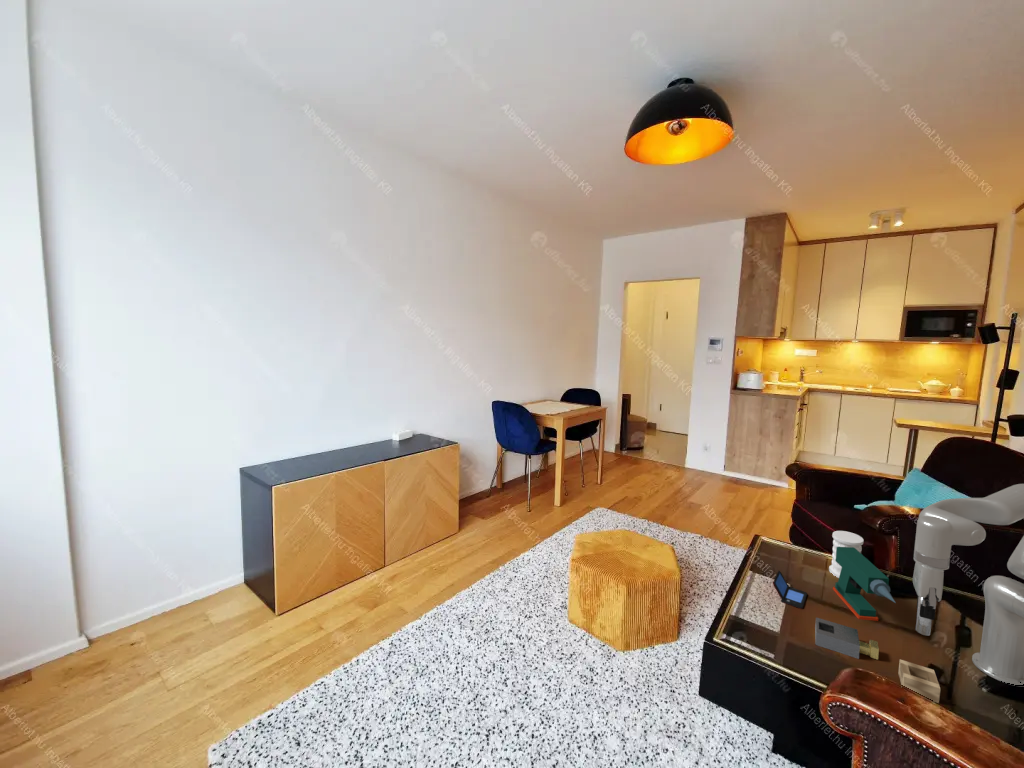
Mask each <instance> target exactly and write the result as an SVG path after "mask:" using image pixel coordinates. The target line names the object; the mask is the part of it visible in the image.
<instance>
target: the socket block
mask: <svg viewBox="0 0 1024 768" xmlns="http://www.w3.org/2000/svg"><path fill="white" fill-rule="evenodd" d="M814 626H815V627H814V629H815V631H814V632H815V633H814V634H815V635H814V636H815V639H814V640H815V642H814V643H815V646H818V647H821V648H824V649H827V650H831V651H833V652H836V653H839V654H843V655H845V656H849V657H852V658H855V659H857V660H859V659H860V652H859V650H860V644H859V641H860V639H859V631H858V629H857V628H854V627H849V626H847V625H845V624H840V623H838V622H837V623H836V622H832V621H830V620H827V619H823V618H821V617H820V618H819V617H815V625H814Z"/></svg>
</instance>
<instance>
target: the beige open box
mask: <svg viewBox="0 0 1024 768" xmlns="http://www.w3.org/2000/svg"><path fill="white" fill-rule="evenodd" d="M898 677H899V681H900V686H901V685H903V686H905V687H907V688H909V689H911V690H913V691H915V692H917V693H919V694H921V695H923V696H925V697H927V698H929V699H931V700H933V701H932V702H934V703H938V704H940V696H941V687H940V682H939V681H938V680H939V679H938V678H937V675H936V672H935V670H934V669H932V668H929V667H925V666H923V665H921V664H920V665H919V664H916V663H913V662H910V661H907V660H904V659H899V664H898ZM931 700H930V701H931Z"/></svg>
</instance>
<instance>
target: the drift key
mask: <svg viewBox="0 0 1024 768" xmlns="http://www.w3.org/2000/svg"><path fill="white" fill-rule="evenodd" d="M859 644H860V650H859V654H862V655H866V656H869V658H872V659H875V660H879V655H880V654H879V652H880V651H879V650H880V648H879V643H878V641H877V640H873V639H869V642H868V643H867V642H864V641H860V640H859Z"/></svg>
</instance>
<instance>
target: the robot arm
mask: <svg viewBox="0 0 1024 768" xmlns="http://www.w3.org/2000/svg"><path fill="white" fill-rule="evenodd" d="M1022 519H1023V520H1024V483H1018V484H1013V485H1011V486H1008V487H1006V488H1003V489H1001V490H999V491H996V492H994V493H991V494H988V495H987V496H985V497H964V498H963V497H961V498H960V497H959V498H947V499H942V500H939V501H937V502H934V503H932V504H930V505H928V506H926V507H924V508H923V509H922V510H921V511H920V513H919V514H918V519H917V521H916V529H915V530H916V531H915V532H916V533H915V540H914V550H913V561H914V562H915V564H914V568H913V569H914V570H913V576H912V583H913V588H914V589H915V592H916V595H917V600H916V601H917V602H916V609H918V598H919V597H922V604H920V613H919V615H920V617H923V618H927V619H930V620H932V621H934V620H935V618H936V608H937V602H940V601H942V596H943V589H944V588H943V587H944V574H945V573H944V572H945V571H946V570H949V569H950V561H951V560H950V559H951V552H952V551H951V550H952V546H954V545H955V546H966V547H967V546H968V547H969V546H976V545H980V544H981V543H982V542H983V541H985V539H986V537H987V532H986V530H985V528H984V527H983V526H982V525H981V524H979V523H982V524H989V525H996V526H1009V525H1012V524H1014V523H1016V522H1018V521H1021V520H1022ZM1006 567H1007V569H1008V571H1009V572H1010V573H1011V574H1013V575H1015V576H1016V577H1018V578H1020V579H1021V580H1024V535H1023V536H1022V537H1021V539H1020V541H1019V543H1018V544H1017V546H1016V547H1015V549H1014V550H1013V552H1012V553H1011V555H1010V557H1009V558H1008V561H1007V563H1006ZM982 590H983V595H984V596H983V597H984V601H985V605H984V606H985V607H984V609H985V610H984V618H983V619H984V620H983V627H982V635H981V642H980V650H979V651H978V652H975V653H973V654H972V656H971V657H972V658H971V661H972V663H973V664H974V666H975V667H976V668H977V669H979V671H982V672H983V673H984V674H986V675H987V676H989V677H991V678H993V679H995V680H997V681H999V682H1001V681H1002V683H1004V682H1005V683H1004V684H1007V683H1010V684H1009V685H1011V684H1014V685H1013V686H1015V685H1023V684H1024V583H1022V582H1021V581H1017V580H1016V579H1014V578H1013V579H1012V578H1011V577H1006V576H1004V575H991V576H990V577H988V578H987V579H985V580H984V583H983V589H982ZM927 595H929V596H927ZM926 599H929V601H926ZM1020 682H1021V683H1020Z"/></svg>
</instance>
